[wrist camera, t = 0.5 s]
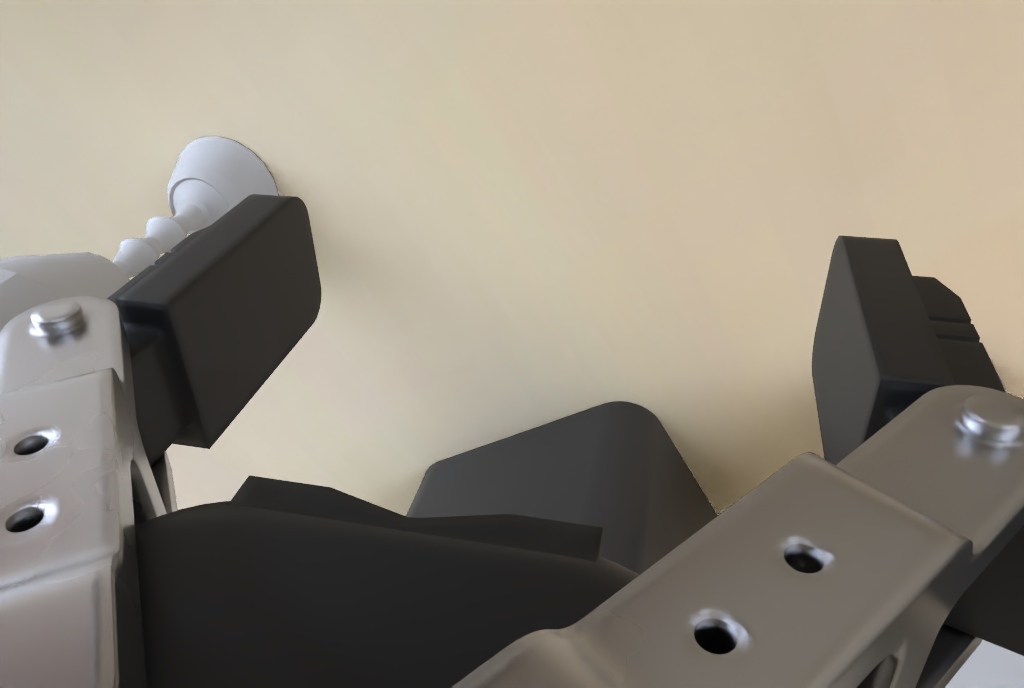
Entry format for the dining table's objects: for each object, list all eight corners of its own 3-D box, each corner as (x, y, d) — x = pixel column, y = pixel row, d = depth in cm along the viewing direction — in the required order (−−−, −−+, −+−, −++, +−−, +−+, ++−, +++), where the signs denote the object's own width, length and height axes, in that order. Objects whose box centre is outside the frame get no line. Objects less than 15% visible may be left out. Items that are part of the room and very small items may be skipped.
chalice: (261, 99, 34) (-98, 318, 19) (324, 243, 37) (58, 525, 22) (127, 135, 36) (-284, 353, 22) (197, 268, 39) (-119, 536, 25)
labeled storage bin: (410, 470, 44) (309, 679, 33) (641, 390, 37) (605, 617, 27) (568, 669, 50) (525, 897, 40) (787, 629, 44) (805, 888, 33)
